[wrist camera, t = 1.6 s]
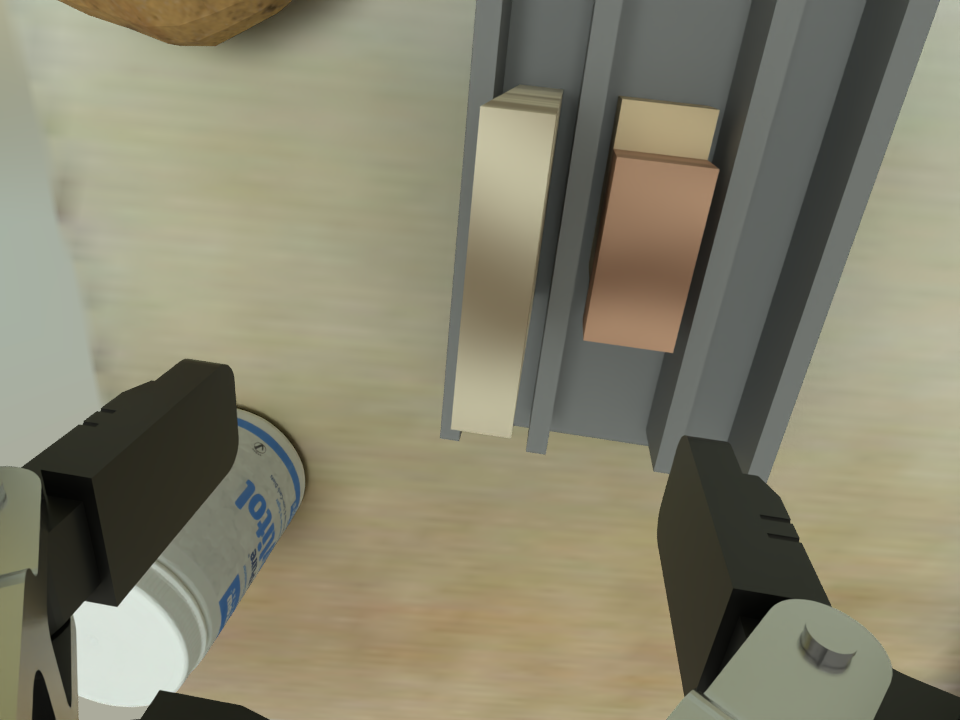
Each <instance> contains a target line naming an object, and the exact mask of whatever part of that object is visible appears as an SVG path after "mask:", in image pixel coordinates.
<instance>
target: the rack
mask: <svg viewBox="0 0 960 720" xmlns="http://www.w3.org/2000/svg"><path fill="white" fill-rule="evenodd" d="M939 2H940V0H476V12H475V24H474V36H473V48H472V60H471V72H470V84H469V96H468V108H467V120H466V132H465V144H464V156H463V168H462V180H461V192H460V204H459V216H458V228H457V240H456V252H455V264H454V276H453V288H452V300H451V312H450V324H449V337H448V349H447V361H446V373H445V385H444V397H443V409H442V421H441V433H440V438H442V439H449V440H455V441H459V439H460V436H461V433H462V431H459V430H452V429H451V422H452V411H453V400H454V389H455V378H456V367H457V356H458V345H459V334H460V323H461V313H462V302H463V291H464V280H465V269H466V258H467V247H468V236H469V225H470V214H471V203H472V192H473V181H474V170H475V159H476V148H477V137H478V126H479V115H480V106H482V105H484V104H485V103H487V102H489V101H491V100H493V99H494V98H496V97H498V96H500V95H502V94H504V93H505V92H507V91H509V90H511V89H513V88H514V87H516V86H518V85H529V86H538V87H547V88H556V89H564V90H563V97H562V104H561V111H560V118H559V125H558V132H557V139H556V146H555V153H554V160H553V167H552V174H551V181H550V188H549V195H548V202H547V209H546V216H545V223H544V230H543V237H542V244H541V251H540V258H539V265H538V272H537V279H536V286H535V293H534V299H533V305H532V312H531V318H530V324H529V330H528V336H527V342H526V348H525V355H524V361H523V367H522V373H521V379H520V385H519V391H518V398H517V404H516V410H515V416H514V422H513V425H514V426H521V427H527V428H529V431H528V440H527V448H526V452H532V453H539V454H546V449H547V443H548V437H549V431H553V432H560V433H566V434H573V435H579V436H586V437H593V438H599V439H606V440H612V441H619V442H625V443H632V444H638V445H645V446H649V450H650V455H651V461H652V466H653V471H654V472H661V473H667V474H670V471H671V467H672V463H673V460H674V456H675V453H676V449H677V446H678V443H679V441H680V439H681V437H682V436H684V435H686V436H693V437H700V438H706V439H713V440H719V441H726V442H729V443H730V444H731V446H732V449H733V451H734V454H735V456H736V459H737V461H738V463H739V466H740V468H741V471H742V473H743V474H750V475H756V476H759V477H760V478H761V479H762V480H763V481H764V482H765V483H767V480H768V477H769V475H770V472H771V469H772V466H773V463H774V461H775V458H776V455H777V452H778V450H779V447H780V444H781V441H782V438H783V436H784V433H785V430H786V427H787V425H788V422H789V419H790V416H791V413H792V411H793V408H794V405H795V402H796V399H797V397H798V394H799V391H800V388H801V386H802V383H803V380H804V377H805V374H806V372H807V369H808V366H809V363H810V361H811V358H812V355H813V352H814V349H815V347H816V344H817V341H818V338H819V335H820V333H821V330H822V327H823V324H824V322H825V319H826V316H827V313H828V310H829V308H830V305H831V302H832V299H833V297H834V294H835V291H836V288H837V285H838V283H839V280H840V277H841V274H842V272H843V269H844V266H845V263H846V260H847V258H848V255H849V252H850V249H851V246H852V244H853V241H854V238H855V235H856V233H857V230H858V227H859V224H860V221H861V219H862V216H863V213H864V210H865V208H866V205H867V202H868V199H869V196H870V194H871V191H872V188H873V185H874V182H875V180H876V177H877V174H878V171H879V169H880V166H881V163H882V160H883V157H884V155H885V152H886V149H887V146H888V144H889V141H890V138H891V135H892V132H893V130H894V127H895V124H896V121H897V119H898V116H899V113H900V110H901V107H902V105H903V102H904V99H905V96H906V93H907V91H908V88H909V85H910V82H911V80H912V77H913V74H914V71H915V68H916V66H917V63H918V60H919V57H920V55H921V52H922V49H923V46H924V43H925V41H926V38H927V35H928V32H929V30H930V27H931V24H932V21H933V18H934V16H935V13H936V10H937V7H938V4H939ZM619 96H627V97H635V98H644V99H653V100H662V101H671V102H680V103H689V104H698V105H706V106H710V107H713V108H716V109H718V110H720V111H719V115H718V119H717V123H716V128H715V132H714V136H713V140H712V144H711V148H710V152H709V156H708V161H710V162H711V163H712V164H713V165H715V166H716V167H717V168H719V173H718V177H717V181H716V185H715V189H714V193H713V197H712V201H711V205H710V209H709V213H708V217H707V221H706V225H705V229H704V232H703V236H702V240H701V244H700V248H699V252H698V256H697V260H696V264H695V268H694V272H693V276H692V280H691V284H690V288H689V292H688V296H687V299H686V303H685V307H684V311H683V315H682V319H681V323H680V327H679V331H678V335H677V339H676V343H675V347H674V351H673V353H669V352H662V351H655V350H648V349H640V348H633V347H626V346H619V345H612V344H605V343H598V342H591V341H584V340H583V314H584V309H585V303H586V298H587V292H588V287H589V281H590V280H589V266H588V265H589V259H590V254H591V248H592V243H593V237H594V231H595V226H596V220H597V214H598V209H599V203H600V198H601V192H602V186H603V181H604V175H605V170H606V164H607V158H608V153H609V147H610V141H611V136H612V130H613V125H614V119H615V113H616V108H617V102H618V97H619Z"/></svg>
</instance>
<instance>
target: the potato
mask: <svg viewBox="0 0 960 720" xmlns="http://www.w3.org/2000/svg"><path fill="white" fill-rule="evenodd" d="M58 1H61V2H63V3H65V4H67V5H69V6H71V7H73V8H75V9H77V10H79V11H81V12H84V13H86V14H88V15H90V16H93V17H96V18H99V19H102V20H105V21H108V22H111V23H114V24H117V25H121V26H124V27H127V28H130V29H132V30H135V31H137V32H140V33H142V34H145V35H148V36H150V37H153V38H155V39H158V40H160V41H163V42H166V43H168V44H174V45H179V46H216V45H218V44H220V43H222V42H224V41H226V40H228V39H230V38H232V37H233V36H235V35H237V34H239V33H241V32H243V31H245V30H247V29H249V28H251V27H252V26H254V25H256V24H258V23H260V22H262V21H264V20H265V19H267V18H269V17H271V16H273V15H275V14H277V13H278V12H279V11H281V10H282V9H283V8H284V7H285V6H287V5H288V4H289V3H290V2H291V1H292V0H58Z"/></svg>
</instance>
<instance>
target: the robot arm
mask: <svg viewBox="0 0 960 720" xmlns="http://www.w3.org/2000/svg"><path fill="white" fill-rule="evenodd" d="M238 445H239V434H238V421H237V408H236V394H235V381H234V374H233V371H232V369H231V368H230V367H229V366H228V365H226V364H219V363H212V362H206V361H199V360H193V359H184V360H182V361H180V362H179V363H178V364H176V365H175V366H174V367H172V368H171V369H170V370H169V371H167V372H166V373H165V374H163V375H162V376H161V377H159V378H158V379H157V380H156V381H149V382H147V383H144V384H142V385H139V386H137V387H135V388H132V389H130V390H127V391H125V392H122V393H121V394H120V395H118V396H117V397H116V398H114V399H113V400H111V401H110V402H109V403H107V404H106V405H105V406H103V407H102V408H101V411H100V412H98V411H97V412H95V413H94V414H93V415H91V416H90V417H89V418H87V419H86V420H85V421H84V423H83V425H78V426H76V427H75V428H74V429H72V430H71V431H70V432H68V433H67V434H66V435H65V436H63V437H62V438H61V439H59V440H58V441H56V442H55V443H54V444H52V445H51V446H50V447H48V448H47V449H46V450H44V451H43V452H42V453H40V454H39V455H37V456H36V457H35V458H33V459H32V460H31V461H29V462H28V463H27V464H25V465H24V466H23V467H21V468H20V467H10V466H1V467H0V720H79V719H78V678H77V638H76V625H75V620H74V616H73V614H74V612H75V611H76V610H77V609H78V608H79V607H80V606H81V605H82V604H83V602H84V601H87V602H92V603H97V604H103V605H108V606H114V607H118V606H119V604H120V603H121V602H122V601H123V600H124V598H125V597H126V596H127V595H128V594H129V592H130V591H131V590H132V589H133V588H134V586H135V585H136V584H137V583H138V581H139V580H140V579H141V578H142V577H143V575H144V574H145V573H146V572H147V571H148V569H149V568H150V567H151V566H152V565H153V563H154V562H155V561H156V560H157V559H158V557H159V556H160V555H161V554H162V553H163V551H164V550H165V549H166V548H167V547H168V545H169V544H170V543H171V542H172V541H173V539H174V538H175V537H176V536H177V534H178V533H179V532H180V531H181V530H182V528H183V527H184V526H185V525H186V524H187V522H188V521H189V520H190V519H191V518H192V516H193V515H194V514H195V513H196V512H197V510H198V509H199V508H200V507H201V506H202V504H203V503H204V502H205V501H206V500H207V498H208V497H209V496H210V495H211V494H212V492H213V491H214V490H215V489H216V487H217V486H218V485H219V484H220V483H221V481H222V480H223V479H224V478H225V477H226V475H227V474H228V473H229V472H230V470H231V468H232V466H233V464H234V462H235V459H236V456H237V451H238ZM790 520H791V519H790V517H789V515H788V513H787V511H786V509H785V507H784V504H783V502H782V500H781V498H780V497H779V496H778V495H777V494H776V493H775V492H774V491H773V490H772V489H771V488H770V487H769V486H768V485H767V484H766V483H765V482H764V481H763V480H762V479H761V478H760V477H759V476H756V475H750V474H743V473H742V471H741V468H740V466H739V463H738V461H737V459H736V456H735V454H734V451H733V449H732V446H731V444H730V443H729V442H726V441H719V440H713V439H706V438H700V437H693V436H686V435H684V436H682V437H681V439H680V441H679V443H678V446H677V449H676V453H675V456H674V460H673V463H672V467H671V471H670V474H669V478H668V482H667V485H666V489H665V492H664V496H663V500H662V503H661V507H660V512H659V517H658V527H657V541H658V548H659V554H660V560H661V566H662V571H663V577H664V583H665V588H666V594H667V600H668V606H669V611H670V617H671V623H672V629H673V634H674V640H675V646H676V651H677V657H678V663H679V669H680V674H681V680H682V686H683V691H684V699H683V700H682V701H681V702H680V703H679V705H678V706H677V707H676V708H675V709H674V711H673V712H672V713H671V714H670V716H669V717H668V718H667V719H666V720H960V697H958V696H955V695H953V694H950V693H948V692H945V691H943V690H940V689H938V688H936V687H933V686H931V685H928V684H926V683H923V682H921V681H919V680H916V679H914V678H911V677H909V676H907V675H905V674H902V673H900V672H898V671H896V670H894V669H893V668H892V666H891V662H890V659H889V657H888V655H887V653H886V651H885V650H884V648H883V647H882V645H881V644H880V643H879V641H878V640H877V639H876V638H875V637H874V636H873V635H872V634H871V633H870V632H869V631H868V630H867V629H866V628H865V627H864V626H862V625H861V624H860V623H858V622H857V621H856V620H854V619H853V618H851V617H850V616H848V615H846V614H845V613H843V612H841V611H839V610H837V609H835V608H832V606H831V604H830V602H829V600H828V598H827V595H826V593H825V591H824V589H823V587H822V585H821V583H820V581H819V579H818V576H817V574H816V572H815V570H814V568H813V566H812V564H811V562H810V559H809V557H808V555H807V553H806V551H805V549H804V547H803V545H802V543H799V536H798V534H797V532H796V530H795V528H794V526H793V524H790ZM136 720H269V719H267V718H265V717H263V716H261V715H259V714H257V713H255V712H253V711H251V710H249V709H248V708H246V707H244V706H241V705H236V704H231V703H225V702H220V701H215V700H210V699H205V698H199V697H194V696H189V695H184V694H179V693H173V692H168V691H163V690H159V691H158V693H157V695H156V696H155V698H154V699H153V701H152V702H151V704H150V705H149V707H148V708H147V710H146V711H145V713H144V714H143V716H142V717H141V719H136Z"/></svg>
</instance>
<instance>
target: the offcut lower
mask: <svg viewBox="0 0 960 720" xmlns="http://www.w3.org/2000/svg"><path fill="white" fill-rule="evenodd" d="M719 111H720V110H718V109H716V108H713V107H710V106H706V105H698V104H689V103H680V102H671V101H662V100H653V99H644V98H635V97H627V96H619V97H618V102H617V108H616V113H615V119H614V125H613V130H612V136H611V141H610V147H609V153H608V158H607V164H606V170H605V175H604V181H603V186H602V192H601V198H600V203H599V209H598V214H597V220H596V226H595V231H594V237H593V243H592V248H591V254H590V259H589V265H588V266H589V280H590V276H591V270H592V265H593V259H594V254H595V248H596V243H597V237H598V231H599V226H600V220H601V215H602V209H603V204H604V198H605V193H606V187H607V182H608V176H609V171H610V165H611V160H612V154H613V149H620V150H628V151H637V152H645V153H653V154H662V155H670V156H679V157H687V158H695V159H704V160H708V156H709V152H710V148H711V144H712V140H713V136H714V132H715V128H716V123H717V119H718V115H719Z"/></svg>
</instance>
